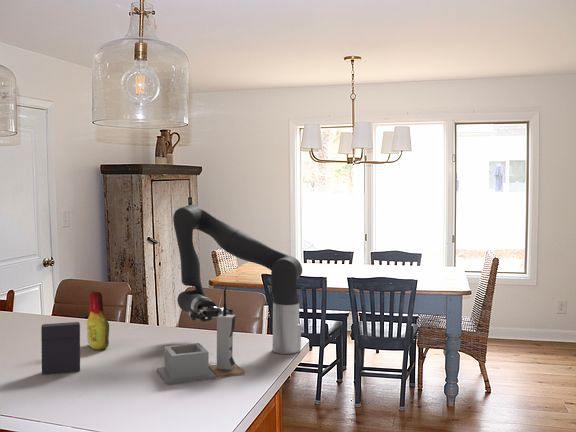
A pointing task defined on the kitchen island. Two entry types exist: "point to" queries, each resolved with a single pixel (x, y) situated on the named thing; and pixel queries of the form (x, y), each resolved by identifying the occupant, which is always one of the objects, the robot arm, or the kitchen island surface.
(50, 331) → the calculator
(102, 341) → the bottle
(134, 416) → the kitchen island surface
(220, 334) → the vintage mobile phone
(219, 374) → the walnut pad
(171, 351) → the box
